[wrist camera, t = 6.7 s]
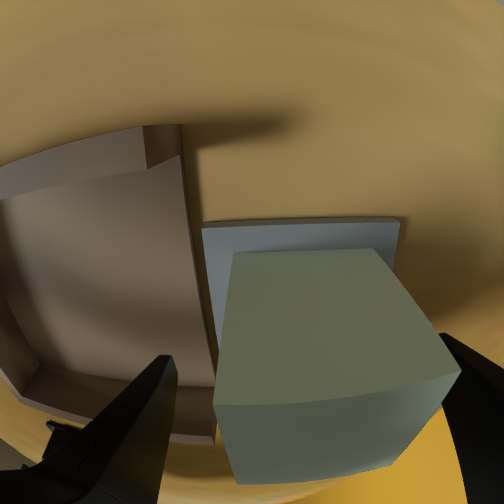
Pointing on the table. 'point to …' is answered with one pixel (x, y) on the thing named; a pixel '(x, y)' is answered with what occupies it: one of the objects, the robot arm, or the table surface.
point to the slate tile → (288, 244)
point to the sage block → (323, 366)
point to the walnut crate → (102, 278)
